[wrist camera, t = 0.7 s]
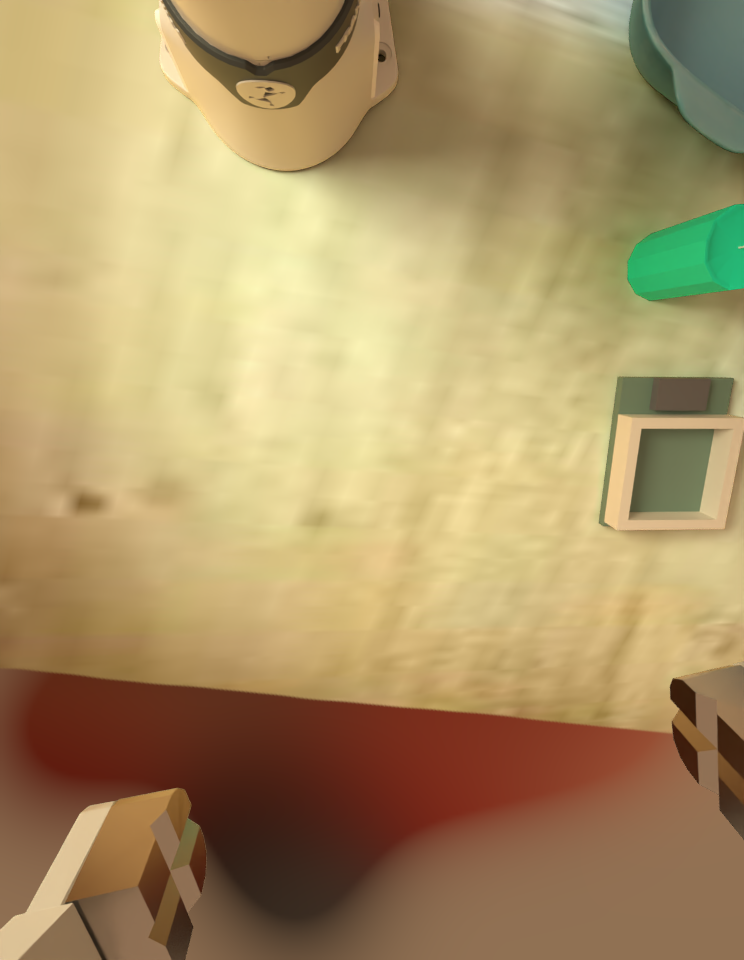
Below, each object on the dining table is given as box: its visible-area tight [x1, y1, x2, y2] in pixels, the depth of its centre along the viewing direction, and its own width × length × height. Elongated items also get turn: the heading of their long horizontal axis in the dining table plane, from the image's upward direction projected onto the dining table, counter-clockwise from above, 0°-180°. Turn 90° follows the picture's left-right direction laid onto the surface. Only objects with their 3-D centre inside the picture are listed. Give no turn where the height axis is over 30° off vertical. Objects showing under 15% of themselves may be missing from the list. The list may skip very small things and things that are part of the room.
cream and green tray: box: [599, 377, 744, 530], centre depth 51 cm, size 15×11×4 cm
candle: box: [628, 204, 744, 301], centre depth 42 cm, size 6×6×12 cm
